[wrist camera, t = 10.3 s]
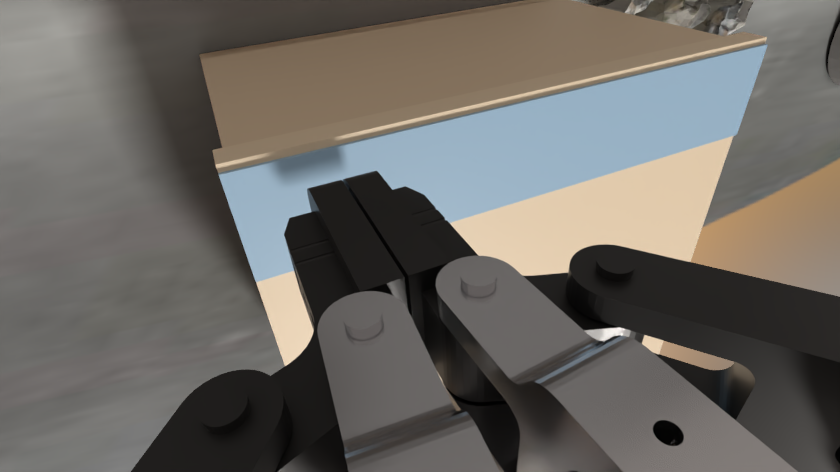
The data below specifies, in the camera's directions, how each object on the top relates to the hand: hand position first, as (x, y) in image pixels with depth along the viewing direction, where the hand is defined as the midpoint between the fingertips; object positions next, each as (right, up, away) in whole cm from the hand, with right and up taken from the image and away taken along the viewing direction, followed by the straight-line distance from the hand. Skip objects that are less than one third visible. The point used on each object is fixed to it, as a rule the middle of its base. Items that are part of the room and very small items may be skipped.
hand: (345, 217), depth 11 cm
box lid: (+5, -3, +7) cm, 9 cm away
